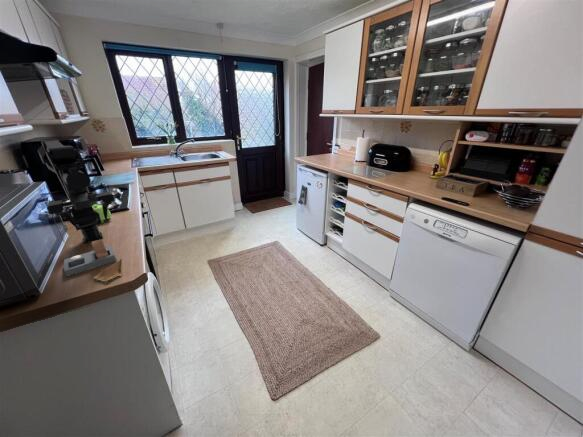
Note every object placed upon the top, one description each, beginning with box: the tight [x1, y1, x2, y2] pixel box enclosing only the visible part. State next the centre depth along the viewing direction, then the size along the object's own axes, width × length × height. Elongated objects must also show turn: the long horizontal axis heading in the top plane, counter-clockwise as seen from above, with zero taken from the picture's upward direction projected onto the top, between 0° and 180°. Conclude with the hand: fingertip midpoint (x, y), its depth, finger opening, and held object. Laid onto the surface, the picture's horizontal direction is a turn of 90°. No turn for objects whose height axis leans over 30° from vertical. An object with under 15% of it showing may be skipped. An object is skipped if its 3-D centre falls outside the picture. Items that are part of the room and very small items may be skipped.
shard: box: [93, 258, 123, 282], centre depth 82 cm, size 11×8×2 cm
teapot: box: [92, 204, 112, 224], centre depth 119 cm, size 11×12×8 cm
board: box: [63, 241, 117, 277], centre depth 86 cm, size 9×14×6 cm, turn 131°
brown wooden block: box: [91, 238, 108, 259], centre depth 87 cm, size 3×3×8 cm
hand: (91, 222), depth 90 cm, fingers open, 9 cm apart
